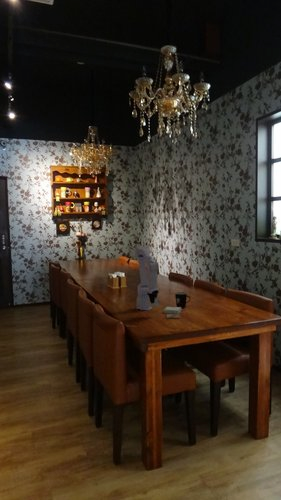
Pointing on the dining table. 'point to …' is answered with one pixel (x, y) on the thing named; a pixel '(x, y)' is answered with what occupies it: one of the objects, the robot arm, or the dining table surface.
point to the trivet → (172, 316)
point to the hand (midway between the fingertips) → (153, 302)
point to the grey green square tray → (172, 310)
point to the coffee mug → (181, 299)
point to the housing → (156, 302)
